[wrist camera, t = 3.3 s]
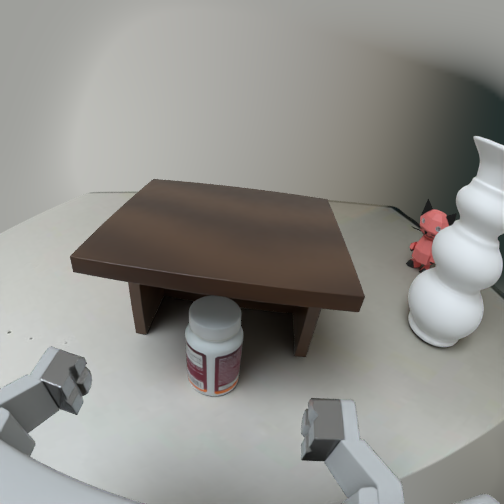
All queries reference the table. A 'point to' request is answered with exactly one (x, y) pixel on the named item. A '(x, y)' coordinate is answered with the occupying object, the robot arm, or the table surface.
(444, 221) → the cat figurine
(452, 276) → the vase
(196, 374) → the pill bottle
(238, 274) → the desk
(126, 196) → the table surface
